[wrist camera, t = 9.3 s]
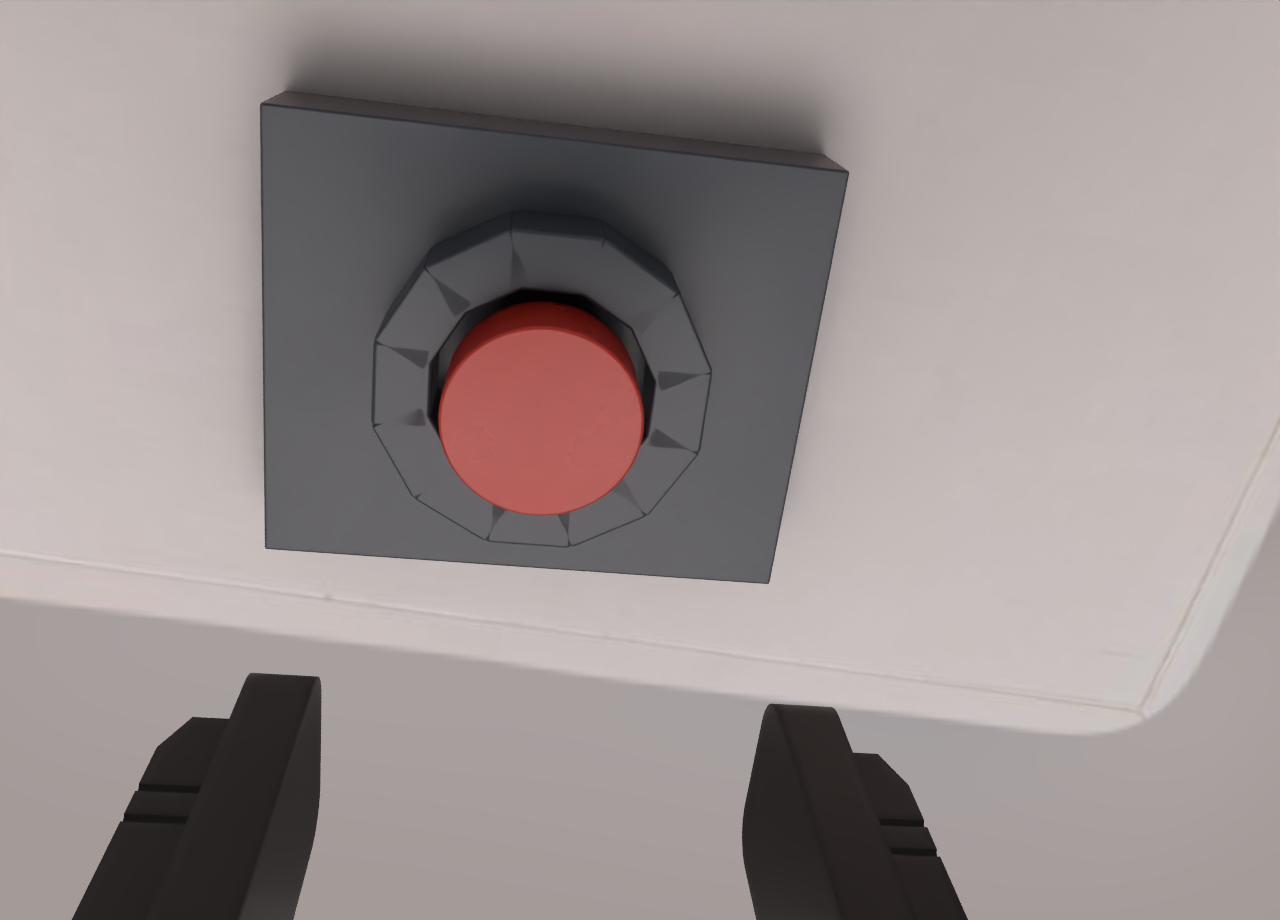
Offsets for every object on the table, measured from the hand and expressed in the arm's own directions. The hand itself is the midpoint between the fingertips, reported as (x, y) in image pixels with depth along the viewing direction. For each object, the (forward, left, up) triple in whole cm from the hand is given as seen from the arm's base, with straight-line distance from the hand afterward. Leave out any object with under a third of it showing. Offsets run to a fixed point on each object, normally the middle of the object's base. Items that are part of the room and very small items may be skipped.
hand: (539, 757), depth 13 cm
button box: (0, 0, -15) cm, 15 cm away
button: (0, 0, -12) cm, 12 cm away
